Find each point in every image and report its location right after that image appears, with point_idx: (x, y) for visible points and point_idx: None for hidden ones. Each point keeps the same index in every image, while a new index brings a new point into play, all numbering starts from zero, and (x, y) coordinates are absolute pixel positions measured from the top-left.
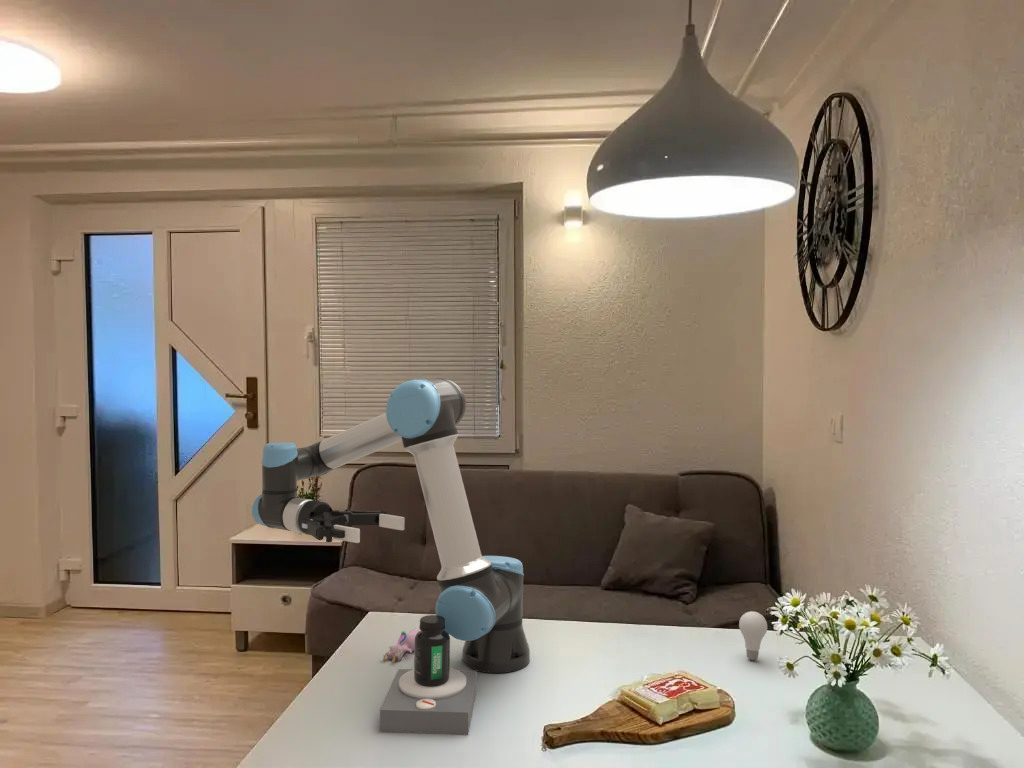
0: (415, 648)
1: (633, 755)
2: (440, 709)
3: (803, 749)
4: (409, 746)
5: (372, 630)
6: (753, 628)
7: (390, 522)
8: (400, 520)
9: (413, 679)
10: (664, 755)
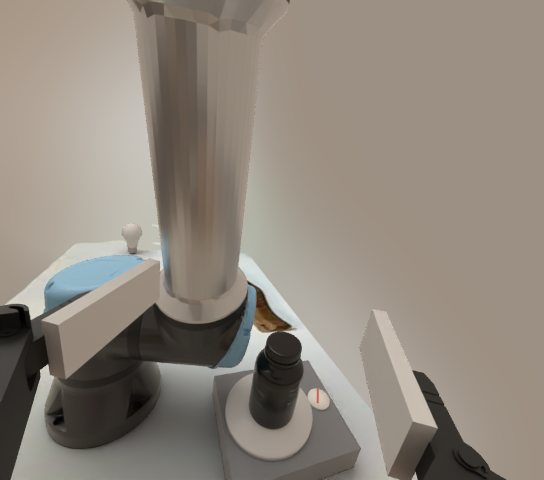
0: (297, 389)
1: (277, 295)
2: (317, 383)
3: (242, 256)
4: (353, 418)
5: None
6: (141, 232)
7: (122, 309)
8: (155, 273)
9: (279, 432)
10: (270, 287)
